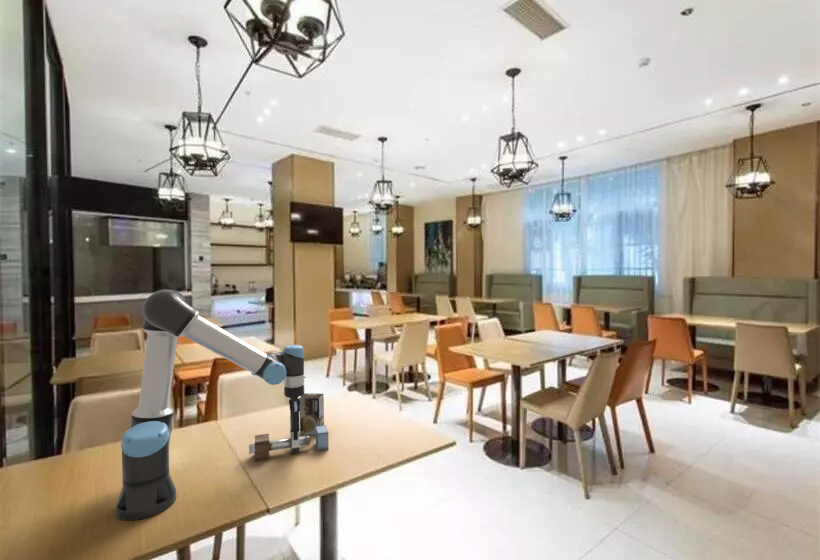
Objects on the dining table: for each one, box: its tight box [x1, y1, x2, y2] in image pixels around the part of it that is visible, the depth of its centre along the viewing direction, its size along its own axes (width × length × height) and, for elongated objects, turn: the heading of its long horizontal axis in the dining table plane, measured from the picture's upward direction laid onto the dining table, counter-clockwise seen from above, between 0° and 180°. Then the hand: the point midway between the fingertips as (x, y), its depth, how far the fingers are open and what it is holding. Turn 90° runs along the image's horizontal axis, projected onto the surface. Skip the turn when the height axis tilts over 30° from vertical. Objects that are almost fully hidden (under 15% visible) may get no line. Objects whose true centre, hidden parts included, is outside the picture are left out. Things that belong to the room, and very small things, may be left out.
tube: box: [248, 416, 311, 455], centre depth 149 cm, size 22×5×13 cm, turn 111°
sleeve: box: [254, 433, 270, 462], centre depth 147 cm, size 7×5×7 cm
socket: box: [315, 424, 330, 452], centre depth 155 cm, size 7×4×7 cm, turn 21°
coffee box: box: [298, 392, 325, 436], centre depth 169 cm, size 9×6×16 cm
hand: (294, 444), depth 151 cm, fingers closed on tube, 5 cm apart
